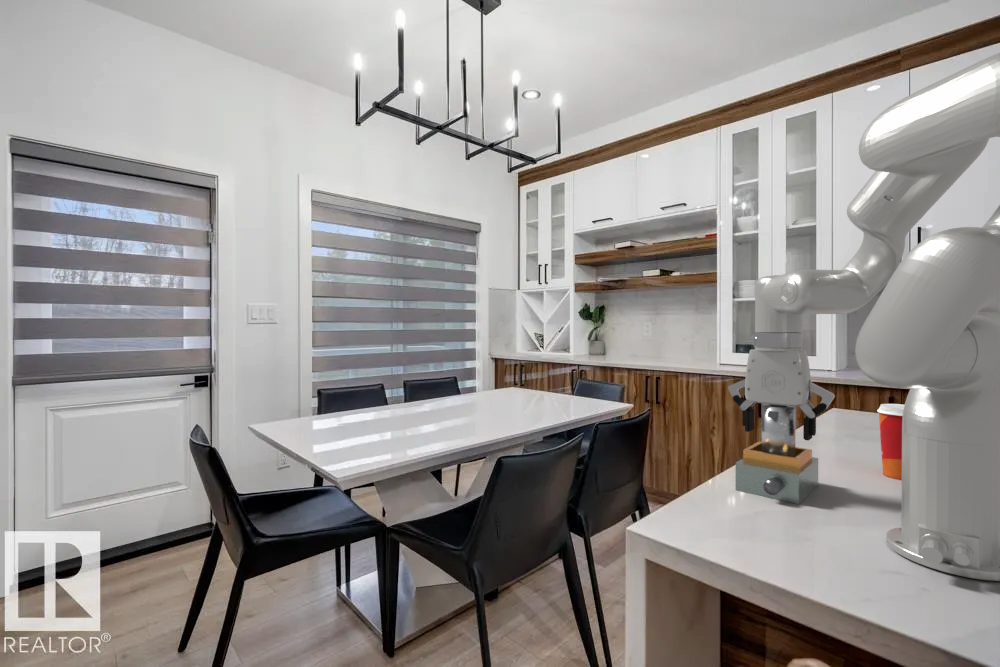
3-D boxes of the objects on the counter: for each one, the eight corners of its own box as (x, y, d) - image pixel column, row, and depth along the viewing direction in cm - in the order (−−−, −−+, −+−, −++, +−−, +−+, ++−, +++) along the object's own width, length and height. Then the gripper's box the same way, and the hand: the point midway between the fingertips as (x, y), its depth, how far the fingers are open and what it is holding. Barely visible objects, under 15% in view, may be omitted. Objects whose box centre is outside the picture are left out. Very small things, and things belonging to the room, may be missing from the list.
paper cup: (907, 471, 97) (907, 403, 97) (938, 483, 89) (938, 409, 89) (866, 470, 97) (867, 402, 97) (893, 482, 90) (894, 409, 90)
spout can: (789, 466, 83) (789, 405, 83) (755, 460, 86) (755, 402, 86) (798, 459, 87) (798, 401, 87) (766, 453, 91) (766, 398, 91)
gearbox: (794, 508, 77) (794, 465, 77) (730, 493, 84) (730, 454, 84) (818, 484, 89) (818, 447, 89) (760, 472, 96) (760, 438, 96)
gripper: (721, 342, 91) (721, 430, 91) (829, 344, 78) (829, 446, 78) (735, 341, 96) (735, 424, 96) (838, 343, 84) (838, 439, 84)
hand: (777, 434), depth 87 cm, fingers open, 9 cm apart
